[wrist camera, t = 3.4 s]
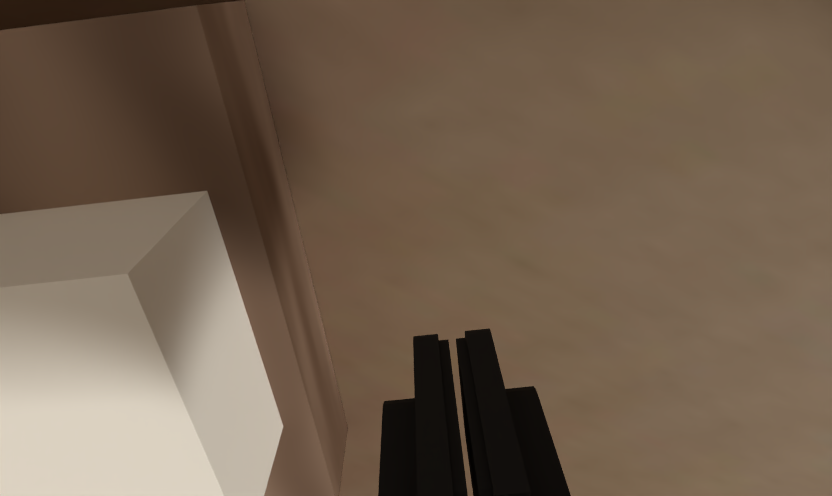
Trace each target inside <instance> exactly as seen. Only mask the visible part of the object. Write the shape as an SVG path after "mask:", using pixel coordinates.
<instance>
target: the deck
mask: <svg viewBox="0 0 832 496" xmlns="http://www.w3.org/2000/svg"><path fill="white" fill-rule="evenodd" d="M200 191H207V192H208V195H209V198H210V201H211V204H212V207H213V210H214V213H215V216H216V220H217V223H218V226H219V229H220V232H221V235H222V238H223V241H224V244H225V247H226V250H227V254H228V257H229V260H230V263H231V266H232V269H233V272H234V275H235V278H236V281H237V284H238V288H239V291H240V294H241V297H242V300H243V303H244V306H245V309H246V312H247V315H248V319H249V322H250V325H251V328H252V331H253V334H254V337H255V340H256V343H257V346H258V349H259V353H260V356H261V359H262V362H263V365H264V368H265V371H266V374H267V377H268V380H269V383H270V387H271V390H272V393H273V396H274V399H275V402H276V405H277V408H278V411H279V414H280V417H281V421H282V424H283V429H282V433H281V437H280V440H279V444H278V447H277V451H276V455H275V458H274V462H273V465H272V469H271V473H270V476H269V480H268V483H267V487H266V491H265V494H264V496H339V492H340V484H341V476H342V469H343V461H344V454H345V446H346V438H347V431H348V427H347V422H346V418H345V414H344V410H343V406H342V402H341V398H340V394H339V390H338V385H337V381H336V377H335V373H334V369H333V365H332V361H331V357H330V352H329V348H328V344H327V340H326V336H325V332H324V328H323V324H322V319H321V315H320V311H319V307H318V303H317V299H316V295H315V291H314V286H313V282H312V278H311V274H310V270H309V266H308V262H307V258H306V253H305V249H304V245H303V241H302V237H301V233H300V229H299V225H298V220H297V216H296V212H295V208H294V204H293V200H292V196H291V192H290V187H289V183H288V179H287V175H286V171H285V167H284V163H283V159H282V154H281V150H280V146H279V142H278V138H277V134H276V130H275V126H274V121H273V117H272V113H271V109H270V105H269V101H268V97H267V93H266V88H265V84H264V80H263V76H262V72H261V68H260V64H259V60H258V55H257V51H256V47H255V43H254V39H253V35H252V31H251V27H250V22H249V18H248V14H247V10H246V6H245V2H244V0H241V1H231V2H222V3H212V4H203V5H194V6H186V7H178V8H171V9H163V10H155V11H147V12H139V13H131V14H124V15H116V16H108V17H100V18H92V19H84V20H77V21H69V22H61V23H53V24H45V25H37V26H30V27H22V28H14V29H6V30H0V214H7V213H15V212H24V211H33V210H42V209H51V208H59V207H68V206H77V205H86V204H95V203H103V202H112V201H121V200H130V199H139V198H147V197H156V196H165V195H174V194H183V193H191V192H200Z"/></svg>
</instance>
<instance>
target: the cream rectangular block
mask: <svg viewBox="0 0 832 496" xmlns="http://www.w3.org/2000/svg"><path fill="white" fill-rule="evenodd" d="M282 429H283V424H282V421H281V417H280V414H279V411H278V408H277V405H276V402H275V399H274V396H273V393H272V390H271V387H270V383H269V380H268V377H267V374H266V371H265V368H264V365H263V362H262V359H261V356H260V353H259V349H258V346H257V343H256V340H255V337H254V334H253V331H252V328H251V325H250V322H249V319H248V315H247V312H246V309H245V306H244V303H243V300H242V297H241V294H240V291H239V288H238V284H237V281H236V278H235V275H234V272H233V269H232V266H231V263H230V260H229V257H228V254H227V250H226V247H225V244H224V241H223V238H222V235H221V232H220V229H219V226H218V223H217V220H216V216H215V213H214V210H213V207H212V204H211V201H210V198H209V195H208V192H207V191H200V192H191V193H183V194H174V195H165V196H156V197H147V198H139V199H130V200H121V201H112V202H103V203H95V204H86V205H77V206H68V207H59V208H51V209H42V210H33V211H24V212H15V213H7V214H0V496H264V494H265V491H266V487H267V483H268V480H269V476H270V473H271V469H272V465H273V462H274V458H275V455H276V451H277V447H278V444H279V440H280V437H281V433H282Z"/></svg>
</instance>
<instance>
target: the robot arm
mask: <svg viewBox="0 0 832 496" xmlns="http://www.w3.org/2000/svg"><path fill="white" fill-rule="evenodd" d="M456 345H457V355H458V365H459V376H460V386H461V396H462V407H463V417H464V427H465V436H466V444H467V452H468V459H469V466H470V474H471V481H472V488H473V496H571V495H570V492H569V489H568V486H567V483H566V480H565V477H564V474H563V471H562V468H561V464H560V461H559V458H558V455H557V452H556V449H555V446H554V443H553V440H552V437H551V434H550V431H549V428H548V425H547V421H546V418H545V415H544V412H543V409H542V406H541V403H540V400H539V397H538V394H537V391H536V389H535V388H534V386H532V387H522V388H512V389H505V387H504V383H503V379H502V375H501V371H500V367H499V363H498V359H497V355H496V351H495V347H494V343H493V339H492V335H491V331H490V329H481V330H471V331H465V338H459V339H456ZM413 347H414V385H415V398H413V399H403V400H393V401H384V404H383V414H382V434H381V454H380V474H379V494H378V496H467V487H466V479H465V471H464V462H463V454H462V446H461V438H460V430H459V422H458V414H457V406H456V398H455V390H454V382H453V374H452V366H451V358H450V350H449V342H448V340H440V341H439V340H438V334H433V335H424V336H414V337H413Z"/></svg>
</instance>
